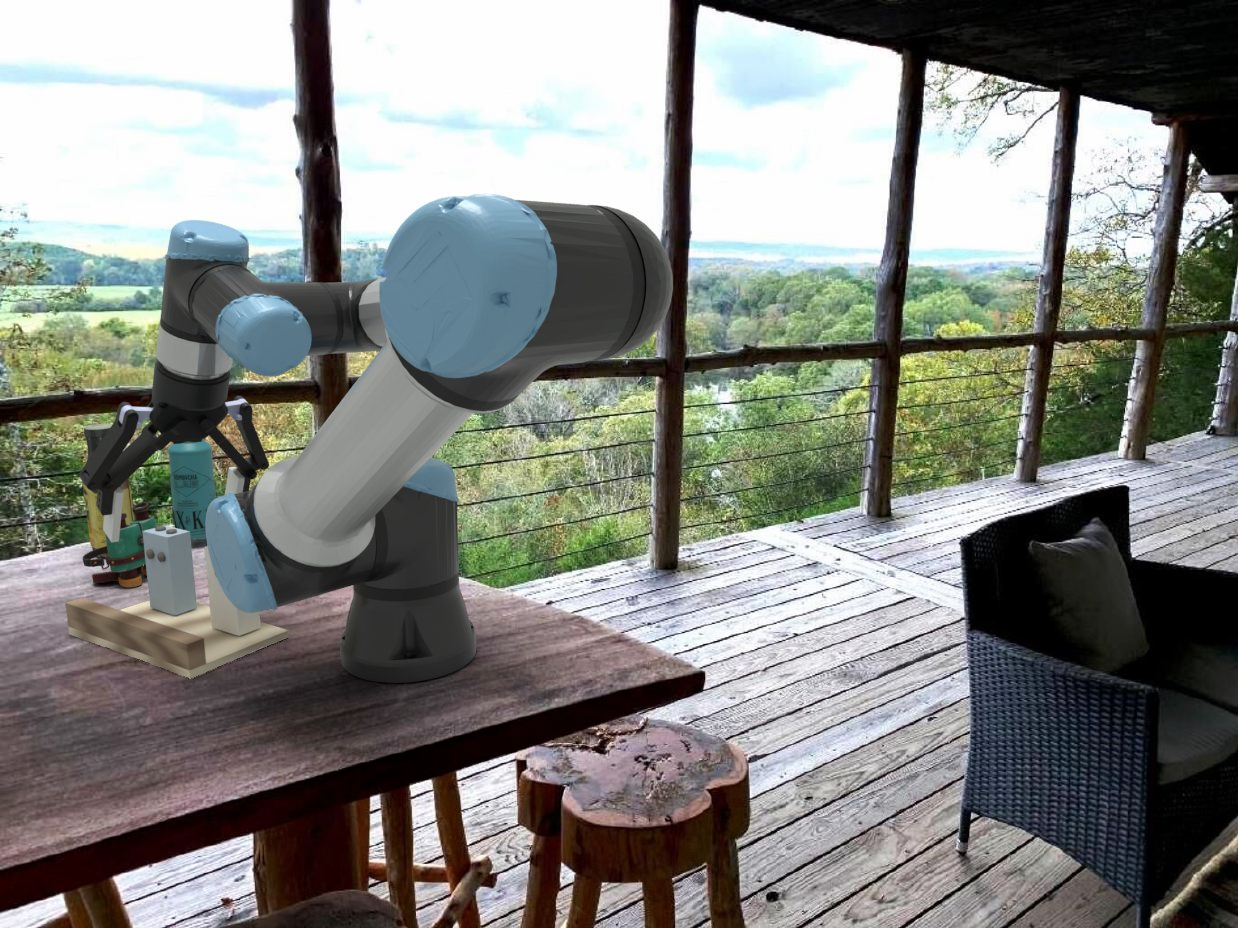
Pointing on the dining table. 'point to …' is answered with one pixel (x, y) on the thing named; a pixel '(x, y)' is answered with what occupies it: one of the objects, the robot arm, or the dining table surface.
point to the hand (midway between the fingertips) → (172, 526)
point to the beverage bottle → (191, 485)
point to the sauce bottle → (94, 516)
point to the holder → (165, 635)
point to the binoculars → (124, 551)
